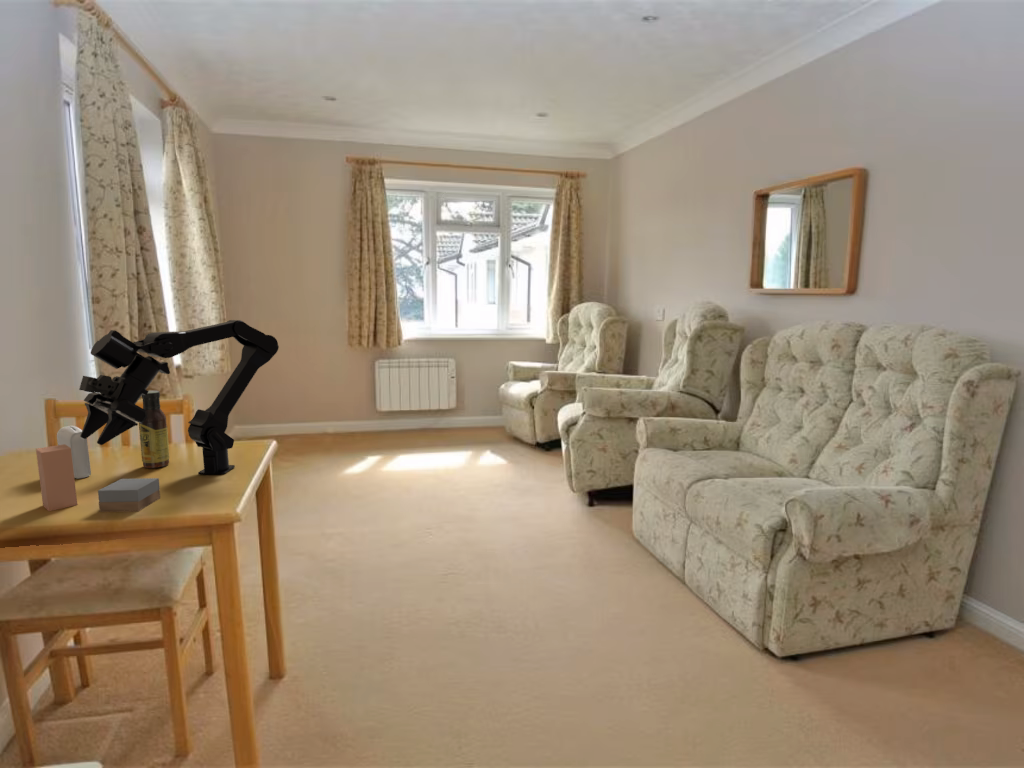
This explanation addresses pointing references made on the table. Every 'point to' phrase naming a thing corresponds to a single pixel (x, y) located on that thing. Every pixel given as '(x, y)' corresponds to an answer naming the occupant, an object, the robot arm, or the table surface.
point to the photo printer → (76, 449)
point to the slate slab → (129, 490)
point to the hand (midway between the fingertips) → (90, 441)
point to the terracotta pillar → (56, 477)
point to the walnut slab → (129, 504)
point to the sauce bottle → (154, 433)
